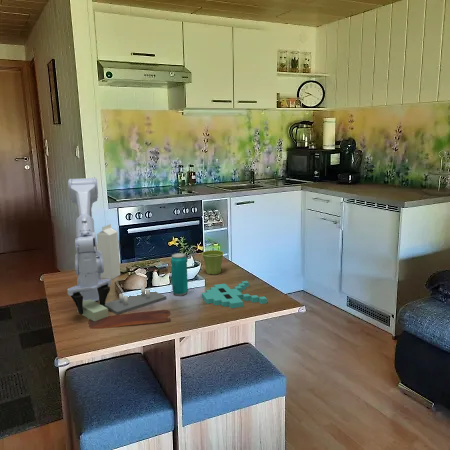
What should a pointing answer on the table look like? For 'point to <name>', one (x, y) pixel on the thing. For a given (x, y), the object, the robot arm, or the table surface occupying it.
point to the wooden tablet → (131, 319)
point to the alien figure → (230, 295)
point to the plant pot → (213, 261)
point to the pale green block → (94, 310)
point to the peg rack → (134, 301)
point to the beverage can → (179, 274)
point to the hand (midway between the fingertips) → (91, 310)
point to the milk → (109, 252)
